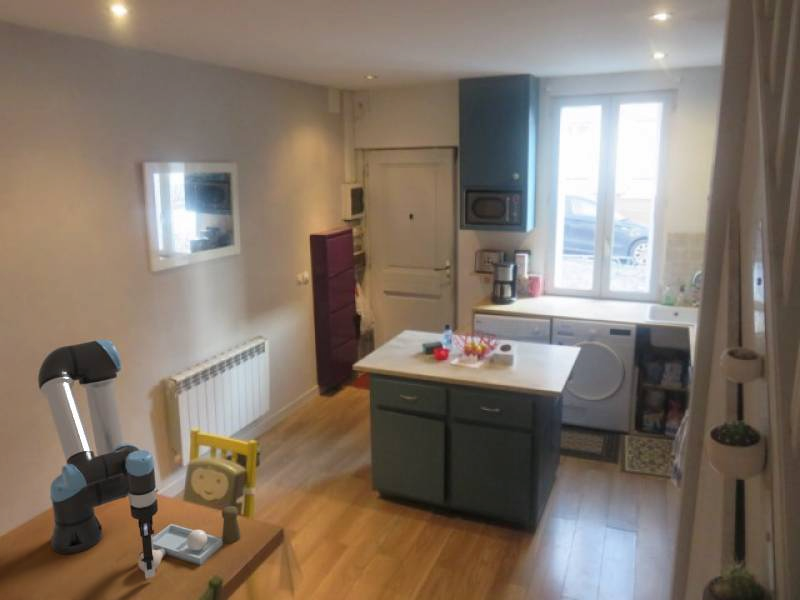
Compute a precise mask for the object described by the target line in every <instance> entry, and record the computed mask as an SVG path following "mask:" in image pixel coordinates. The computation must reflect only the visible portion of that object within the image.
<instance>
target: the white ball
mask: <svg viewBox="0 0 800 600" xmlns="http://www.w3.org/2000/svg"><path fill="white" fill-rule="evenodd" d="M193 530H194V531H192V532H191V533H190V534H189V535H188V537H187V545H188V547H189V548H190V549H191V550H194V551H198V550H201V549H202V548H204V547H205V545H206V544H207V535H206V534H207V533H206V532H205V531H204V530H202V529H193Z"/></svg>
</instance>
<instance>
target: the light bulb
mask: <svg viewBox="0 0 800 600" xmlns="http://www.w3.org/2000/svg"><path fill="white" fill-rule="evenodd" d="M152 553H153V558H154V568H155V570H157V569H158V567H160V564H161V561H162V559H163V558H164V557H165V556H166V552H165V550H164V549H162V548H161V549H159V550H152ZM143 558H144V556H143V552H142V553H141V554H140V555H139V557H138V560H137V561H138V563H137V564H138V565H137V566H138V568H139V569H140V570H141V571H143V572H144V573H145V568H144V561H142V562H141V559H143Z"/></svg>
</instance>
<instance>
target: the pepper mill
mask: <svg viewBox="0 0 800 600" xmlns="http://www.w3.org/2000/svg"><path fill="white" fill-rule="evenodd" d="M238 515H239V510H238V508H237V507H236V506H233V505H230V506H226V507H224V508H223V509H222V511H221V517H222V519H223V526H222V536H221V538H222V542H223V543H225V544H234V543H236V542H238V541H239V540H240V539H242V538H241V537H242V535H241V530H240V527H239V522H238V521H239V520H238Z"/></svg>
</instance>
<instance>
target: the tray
mask: <svg viewBox="0 0 800 600" xmlns="http://www.w3.org/2000/svg"><path fill="white" fill-rule="evenodd" d="M194 530H195V529H191V528H187V527H183V526H180V525H177V524H173V523H170V524H168V525H167V526H166V527H164V529H162V530H161V531H159V532H158V533H157V534H156V535H154V536H152V537H153V547H154V550H159V549H161V548H162V549H164V550H165V552H166V554H165V556H168V557H172V558H176V559H179V560H182V561H185V562H188V563H191V564H194V565H197V566H201V565H203V564H204V563H205V562H206V561H207V560H209V558H210V557H211V556H213V555H214V554H215V553H216V552H217V551H218V550H220V549H221V547H222V546H224V545H223V543H224V542H223V540H222V537H219V536H215V535H212V534H207V533H206V535H207V544H206V545H205V547H204V548H202V549H201V550H198V551H194V550H191V549H190V548H189V547H188V545H187V537H188V535H189V534H190V533H191V532H192V531H194Z"/></svg>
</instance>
